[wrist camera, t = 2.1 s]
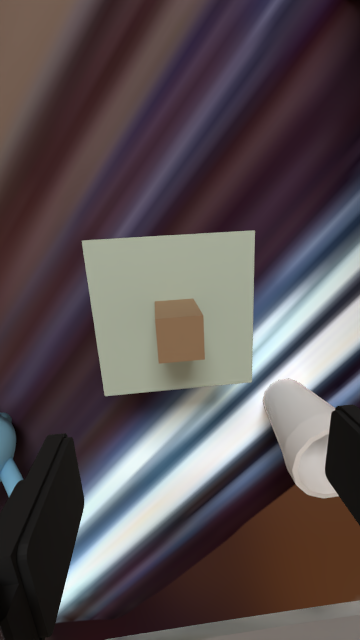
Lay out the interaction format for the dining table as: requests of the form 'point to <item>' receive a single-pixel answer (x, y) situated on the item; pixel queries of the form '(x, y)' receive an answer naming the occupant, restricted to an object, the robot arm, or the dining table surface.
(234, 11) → the dining table surface
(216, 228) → the dining table surface
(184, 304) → the lid
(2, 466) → the teapot
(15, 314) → the dining table surface
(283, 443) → the foam cup
